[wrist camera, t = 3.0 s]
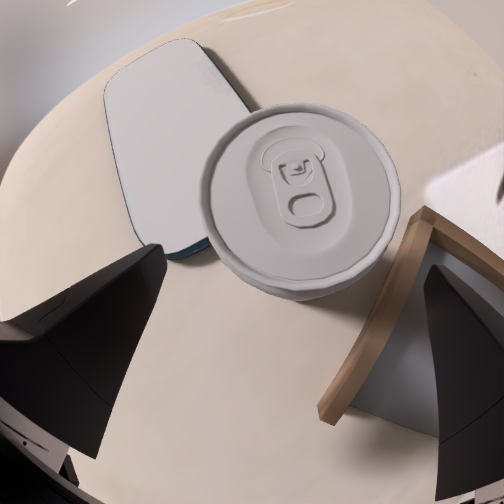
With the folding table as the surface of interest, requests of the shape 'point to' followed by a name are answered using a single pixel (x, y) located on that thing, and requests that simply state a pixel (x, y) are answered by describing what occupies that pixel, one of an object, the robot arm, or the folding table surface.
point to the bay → (410, 327)
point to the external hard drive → (168, 139)
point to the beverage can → (299, 200)
